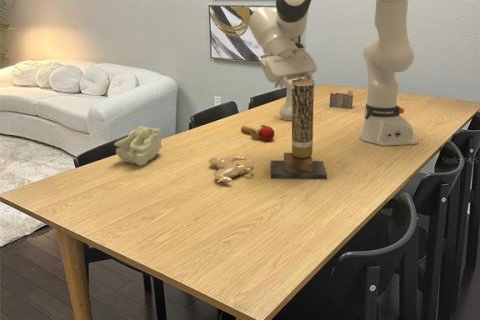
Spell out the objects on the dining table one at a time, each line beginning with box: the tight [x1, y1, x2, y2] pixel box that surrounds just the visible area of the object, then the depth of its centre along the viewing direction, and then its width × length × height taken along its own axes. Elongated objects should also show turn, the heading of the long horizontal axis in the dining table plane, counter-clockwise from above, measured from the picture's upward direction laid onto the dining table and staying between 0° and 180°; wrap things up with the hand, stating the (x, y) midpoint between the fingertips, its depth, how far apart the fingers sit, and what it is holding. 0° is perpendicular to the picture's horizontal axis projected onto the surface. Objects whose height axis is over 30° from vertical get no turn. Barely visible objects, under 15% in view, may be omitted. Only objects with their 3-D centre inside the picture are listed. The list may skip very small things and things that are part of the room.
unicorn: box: [208, 156, 255, 183], centre depth 138 cm, size 20×4×17 cm
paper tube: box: [291, 78, 315, 158], centre depth 134 cm, size 7×7×25 cm
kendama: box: [240, 124, 275, 142], centre depth 174 cm, size 8×6×18 cm
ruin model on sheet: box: [329, 90, 354, 110], centre depth 218 cm, size 11×3×10 cm, turn 61°
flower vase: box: [274, 77, 306, 121], centre depth 194 cm, size 13×18×25 cm
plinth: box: [270, 152, 328, 180], centre depth 139 cm, size 18×12×5 cm, turn 86°
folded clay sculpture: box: [113, 124, 163, 167], centre depth 149 cm, size 18×13×16 cm
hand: (302, 88), depth 129 cm, fingers open, 8 cm apart
